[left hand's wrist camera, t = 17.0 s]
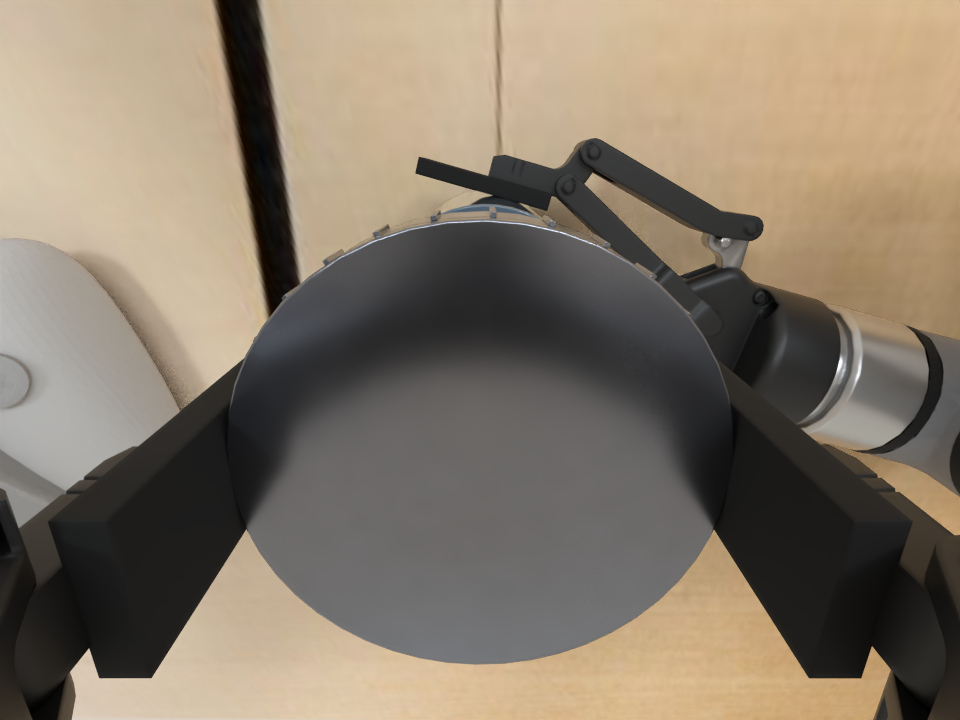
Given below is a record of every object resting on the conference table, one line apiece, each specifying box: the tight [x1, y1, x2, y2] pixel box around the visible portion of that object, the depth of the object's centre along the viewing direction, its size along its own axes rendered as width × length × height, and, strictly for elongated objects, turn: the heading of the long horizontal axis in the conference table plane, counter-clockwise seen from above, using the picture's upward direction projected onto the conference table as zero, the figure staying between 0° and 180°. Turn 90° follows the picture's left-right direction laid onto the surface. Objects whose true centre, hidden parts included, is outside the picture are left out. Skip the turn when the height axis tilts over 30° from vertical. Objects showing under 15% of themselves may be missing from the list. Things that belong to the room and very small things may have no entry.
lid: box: [226, 207, 734, 664], centre depth 11 cm, size 10×10×2 cm
